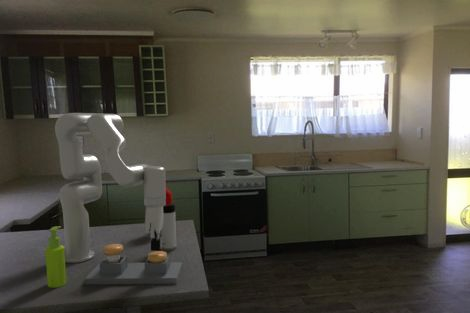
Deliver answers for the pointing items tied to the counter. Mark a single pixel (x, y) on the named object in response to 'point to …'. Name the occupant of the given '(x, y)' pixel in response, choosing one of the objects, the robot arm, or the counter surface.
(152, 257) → the knob
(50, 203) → the counter surface
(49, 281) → the soap dispenser
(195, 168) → the counter surface
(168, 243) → the travel mug
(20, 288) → the counter surface
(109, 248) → the knob
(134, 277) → the console
